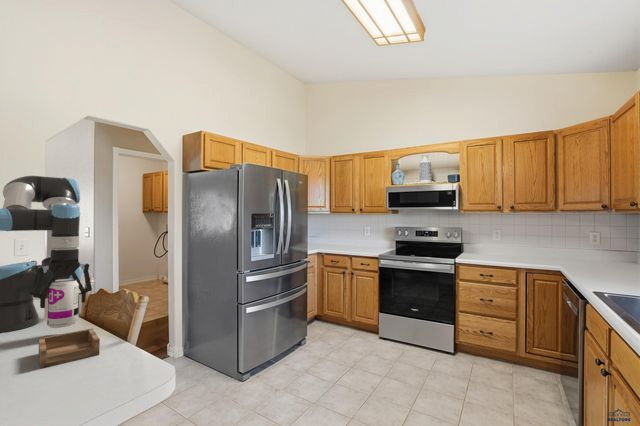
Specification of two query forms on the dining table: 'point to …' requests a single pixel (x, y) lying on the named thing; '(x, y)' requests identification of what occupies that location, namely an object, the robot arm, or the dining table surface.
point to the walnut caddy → (68, 347)
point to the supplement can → (63, 303)
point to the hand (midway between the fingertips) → (63, 314)
